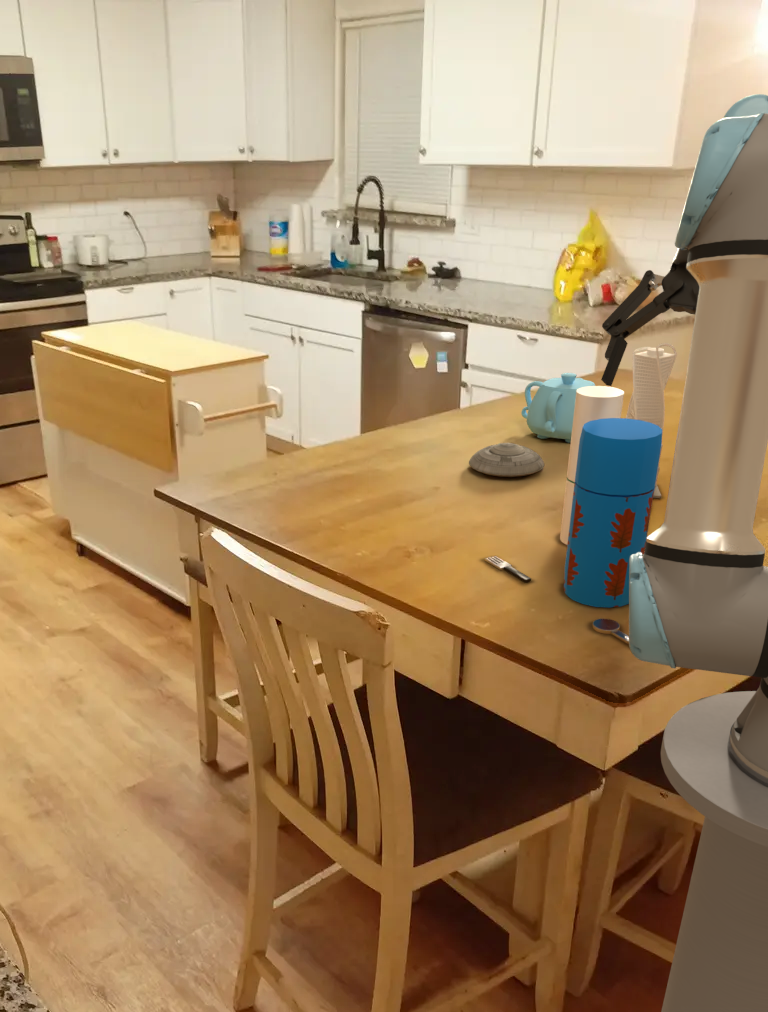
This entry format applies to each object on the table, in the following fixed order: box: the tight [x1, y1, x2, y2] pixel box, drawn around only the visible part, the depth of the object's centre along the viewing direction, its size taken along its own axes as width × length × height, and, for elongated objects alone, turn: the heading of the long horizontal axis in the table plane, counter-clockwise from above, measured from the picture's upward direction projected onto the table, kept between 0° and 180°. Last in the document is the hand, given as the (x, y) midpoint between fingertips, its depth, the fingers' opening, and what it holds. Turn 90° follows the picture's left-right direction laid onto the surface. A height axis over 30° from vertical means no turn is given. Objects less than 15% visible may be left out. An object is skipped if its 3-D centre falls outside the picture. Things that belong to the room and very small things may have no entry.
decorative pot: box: [521, 372, 596, 444], centre depth 209 cm, size 16×16×14 cm
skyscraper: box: [625, 342, 678, 499], centre depth 172 cm, size 8×8×28 cm
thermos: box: [563, 417, 663, 609], centre depth 136 cm, size 11×11×25 cm
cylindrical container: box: [559, 385, 625, 546], centre depth 154 cm, size 7×7×25 cm
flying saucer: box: [468, 442, 545, 478], centre depth 191 cm, size 15×15×6 cm
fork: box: [484, 555, 532, 583], centre depth 150 cm, size 10×2×1 cm, turn 25°
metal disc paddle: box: [592, 618, 629, 645], centre depth 130 cm, size 10×4×1 cm, turn 25°
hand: (650, 392), depth 136 cm, fingers open, 13 cm apart
